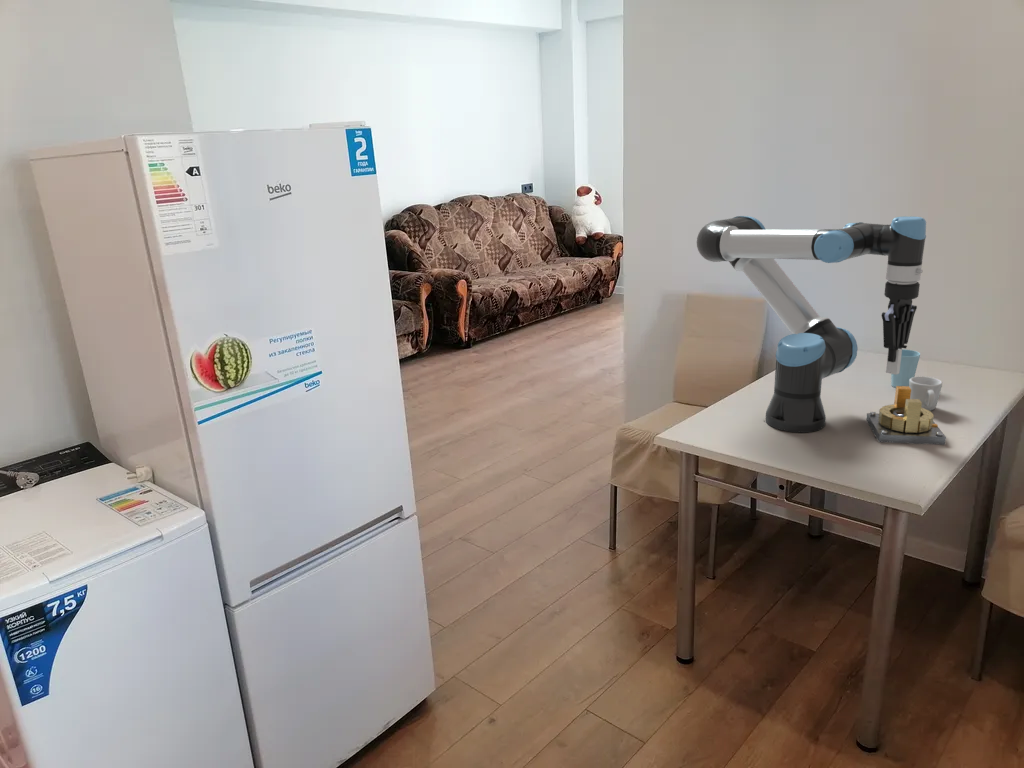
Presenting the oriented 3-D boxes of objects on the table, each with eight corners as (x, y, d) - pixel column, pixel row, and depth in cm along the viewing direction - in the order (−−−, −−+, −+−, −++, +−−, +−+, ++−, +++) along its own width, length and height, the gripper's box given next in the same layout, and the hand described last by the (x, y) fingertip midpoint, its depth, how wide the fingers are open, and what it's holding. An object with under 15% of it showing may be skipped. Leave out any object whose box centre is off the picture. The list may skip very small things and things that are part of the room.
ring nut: (885, 431, 190) (888, 401, 187) (874, 414, 201) (877, 385, 198) (937, 433, 187) (942, 403, 184) (923, 415, 198) (927, 386, 196)
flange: (878, 442, 189) (881, 422, 188) (866, 420, 203) (868, 401, 202) (944, 444, 186) (947, 425, 184) (927, 422, 200) (930, 403, 198)
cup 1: (889, 389, 225) (893, 356, 221) (885, 381, 231) (889, 348, 228) (918, 391, 222) (922, 357, 219) (913, 382, 229) (917, 349, 226)
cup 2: (946, 417, 202) (950, 389, 200) (913, 416, 204) (917, 388, 202) (933, 403, 212) (937, 376, 210) (902, 402, 214) (905, 375, 212)
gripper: (904, 287, 179) (894, 381, 187) (931, 279, 187) (920, 370, 194) (873, 283, 185) (864, 375, 193) (900, 275, 193) (891, 364, 200)
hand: (892, 372), depth 193 cm, fingers closed
